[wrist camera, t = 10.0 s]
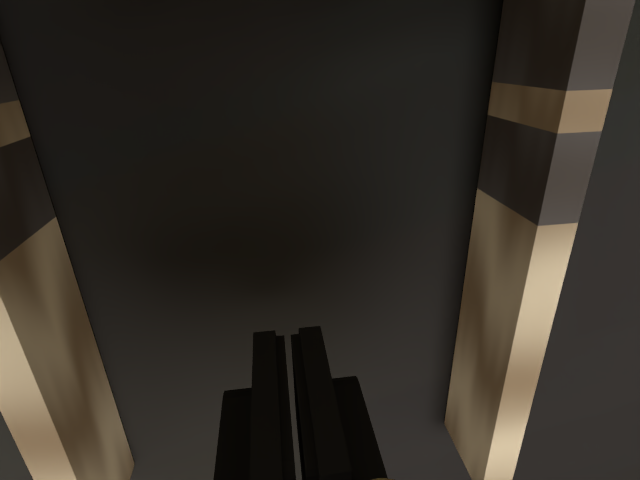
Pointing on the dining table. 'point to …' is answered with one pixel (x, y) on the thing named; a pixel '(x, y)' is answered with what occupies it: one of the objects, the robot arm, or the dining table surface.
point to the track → (480, 277)
